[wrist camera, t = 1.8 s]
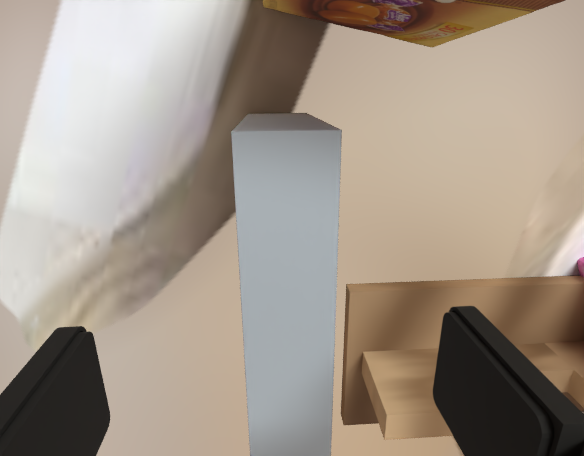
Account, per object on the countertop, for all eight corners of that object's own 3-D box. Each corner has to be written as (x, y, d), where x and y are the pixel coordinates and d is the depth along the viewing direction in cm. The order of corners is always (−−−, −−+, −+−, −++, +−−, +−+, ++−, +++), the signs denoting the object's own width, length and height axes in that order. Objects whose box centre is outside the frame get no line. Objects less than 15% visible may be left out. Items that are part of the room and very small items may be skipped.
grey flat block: (306, 113, 20) (341, 130, 11) (305, 314, 24) (330, 458, 14) (248, 113, 20) (231, 131, 10) (256, 316, 24) (250, 463, 14)
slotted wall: (657, 272, 25) (774, 326, 19) (615, 398, 28) (704, 475, 22) (346, 284, 23) (372, 344, 18) (340, 413, 27) (361, 499, 21)
